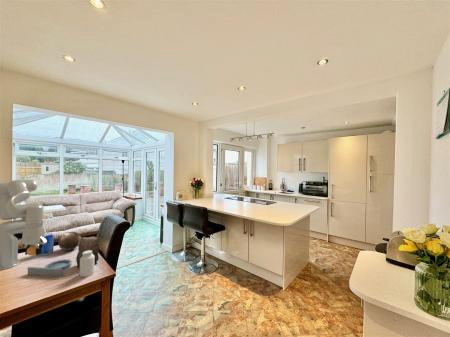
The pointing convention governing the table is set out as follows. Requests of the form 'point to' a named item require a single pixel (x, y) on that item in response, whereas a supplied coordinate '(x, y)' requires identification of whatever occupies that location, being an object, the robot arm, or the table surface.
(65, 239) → the wooden sphere
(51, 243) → the beer can
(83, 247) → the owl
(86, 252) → the pill bottle
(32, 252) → the ball
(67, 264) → the bowl
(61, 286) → the table surface
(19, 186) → the robot arm
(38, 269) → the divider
